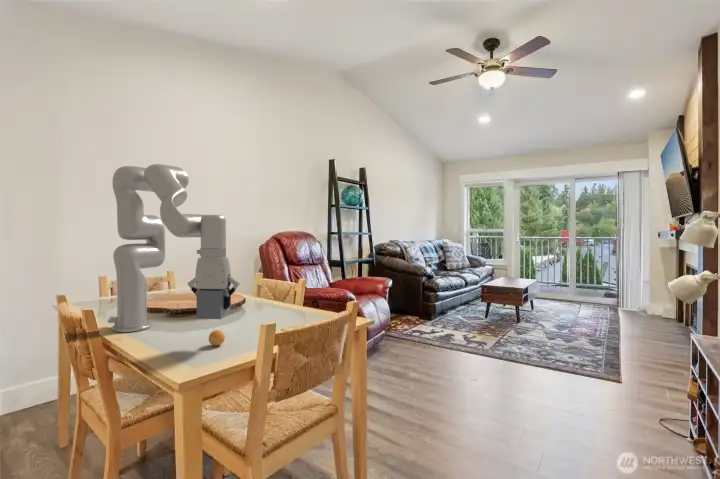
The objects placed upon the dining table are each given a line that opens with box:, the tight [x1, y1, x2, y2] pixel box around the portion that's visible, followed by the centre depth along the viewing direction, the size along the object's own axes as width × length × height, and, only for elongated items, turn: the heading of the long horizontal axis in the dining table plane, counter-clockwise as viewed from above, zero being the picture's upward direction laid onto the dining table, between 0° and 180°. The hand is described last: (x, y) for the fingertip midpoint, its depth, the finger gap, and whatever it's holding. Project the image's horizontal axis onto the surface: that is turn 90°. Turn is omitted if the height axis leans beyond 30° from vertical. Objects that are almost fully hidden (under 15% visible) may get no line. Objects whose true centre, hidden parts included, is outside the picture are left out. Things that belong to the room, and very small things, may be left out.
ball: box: [208, 329, 226, 347], centre depth 124 cm, size 5×5×5 cm
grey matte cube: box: [195, 286, 232, 320], centre depth 123 cm, size 8×8×9 cm
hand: (213, 307), depth 122 cm, fingers closed on grey matte cube, 7 cm apart
